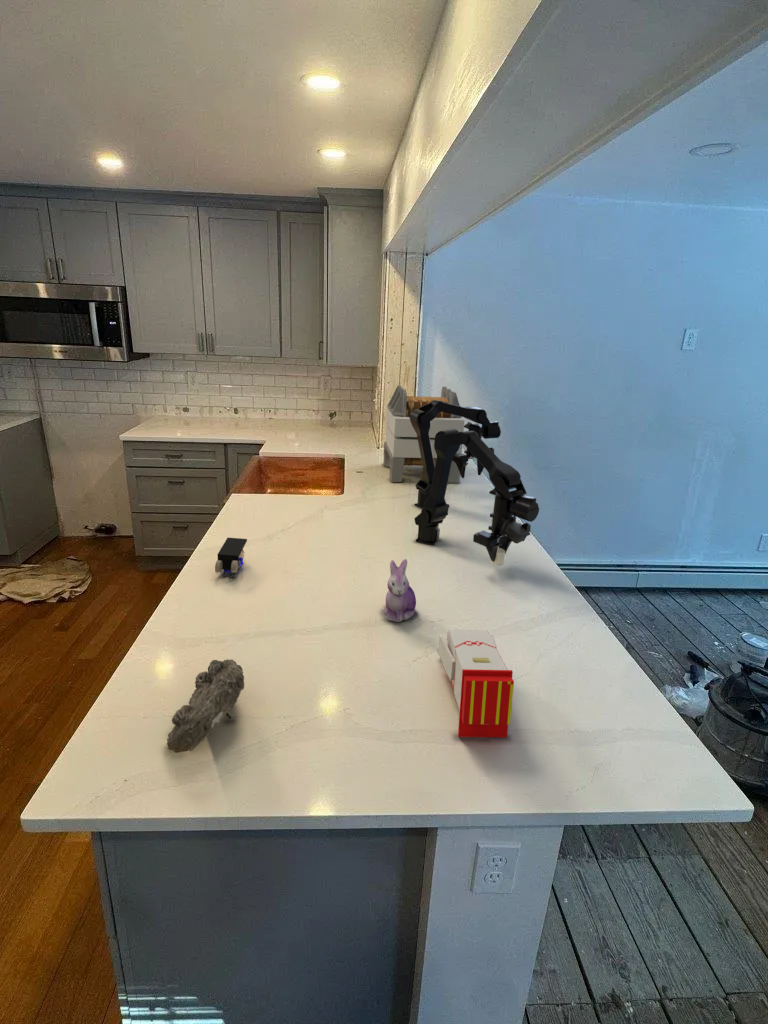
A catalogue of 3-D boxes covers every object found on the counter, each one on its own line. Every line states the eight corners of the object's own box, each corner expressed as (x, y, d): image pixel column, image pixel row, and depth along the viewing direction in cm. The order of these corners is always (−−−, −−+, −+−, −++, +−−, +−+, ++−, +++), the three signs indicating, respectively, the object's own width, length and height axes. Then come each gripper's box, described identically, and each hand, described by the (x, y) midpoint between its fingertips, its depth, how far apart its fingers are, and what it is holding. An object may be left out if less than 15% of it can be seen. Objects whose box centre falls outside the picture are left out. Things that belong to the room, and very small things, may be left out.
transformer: (382, 463, 289) (386, 382, 275) (445, 464, 293) (451, 384, 279) (390, 482, 257) (394, 392, 243) (460, 483, 261) (468, 394, 247)
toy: (488, 613, 130) (523, 677, 101) (484, 667, 133) (517, 744, 104) (435, 612, 130) (455, 676, 101) (432, 666, 133) (451, 743, 103)
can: (500, 566, 171) (501, 554, 169) (488, 562, 173) (489, 550, 172) (505, 562, 174) (507, 550, 173) (493, 558, 176) (495, 546, 175)
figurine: (392, 627, 141) (395, 572, 136) (374, 608, 149) (376, 556, 144) (425, 619, 145) (429, 566, 140) (405, 601, 154) (408, 550, 149)
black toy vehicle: (238, 584, 162) (249, 557, 175) (236, 562, 158) (247, 536, 172) (215, 584, 161) (227, 556, 175) (212, 561, 158) (225, 535, 171)
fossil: (192, 660, 117) (244, 628, 112) (224, 691, 120) (276, 661, 115) (142, 746, 98) (202, 712, 93) (182, 779, 101) (242, 748, 96)
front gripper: (505, 526, 156) (499, 577, 162) (544, 513, 168) (537, 561, 173) (474, 514, 164) (469, 563, 169) (513, 502, 176) (507, 548, 181)
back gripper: (471, 445, 216) (467, 484, 222) (505, 441, 227) (501, 478, 232) (452, 439, 225) (448, 477, 230) (486, 435, 235) (482, 471, 240)
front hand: (497, 559), depth 173 cm, fingers closed on can, 4 cm apart
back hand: (471, 476), depth 233 cm, fingers open, 9 cm apart
